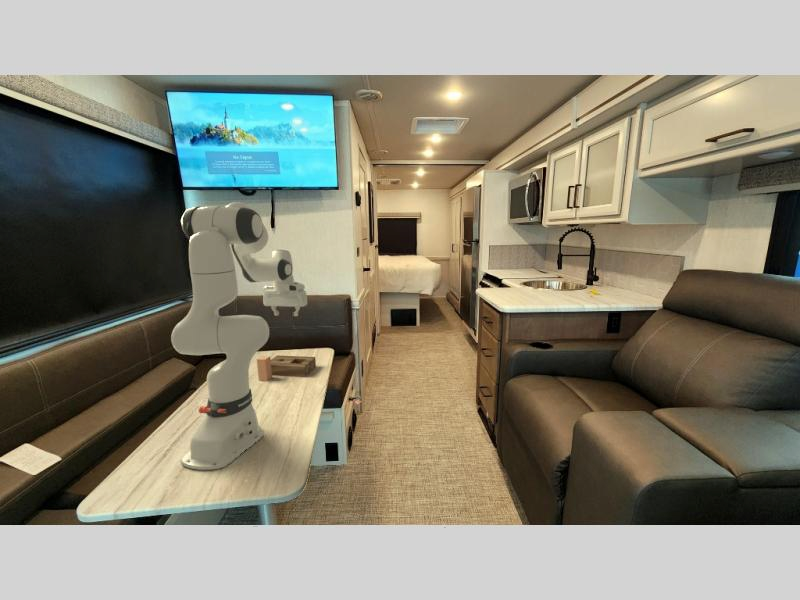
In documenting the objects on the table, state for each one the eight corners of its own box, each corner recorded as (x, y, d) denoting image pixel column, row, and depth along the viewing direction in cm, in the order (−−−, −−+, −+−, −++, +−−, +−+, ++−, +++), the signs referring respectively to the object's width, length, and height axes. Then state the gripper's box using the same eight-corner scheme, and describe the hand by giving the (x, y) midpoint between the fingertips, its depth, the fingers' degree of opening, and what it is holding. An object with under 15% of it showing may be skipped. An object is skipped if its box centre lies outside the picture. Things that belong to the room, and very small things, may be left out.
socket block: (305, 376, 142) (304, 366, 141) (264, 374, 144) (263, 364, 144) (315, 366, 153) (315, 356, 152) (278, 364, 156) (277, 354, 155)
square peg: (267, 381, 138) (265, 359, 136) (258, 380, 139) (256, 359, 137) (272, 377, 142) (270, 356, 140) (264, 376, 142) (262, 356, 141)
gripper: (258, 286, 140) (261, 316, 142) (301, 287, 137) (303, 317, 139) (266, 284, 146) (269, 313, 148) (307, 285, 143) (309, 314, 145)
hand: (286, 315), depth 144 cm, fingers open, 8 cm apart
